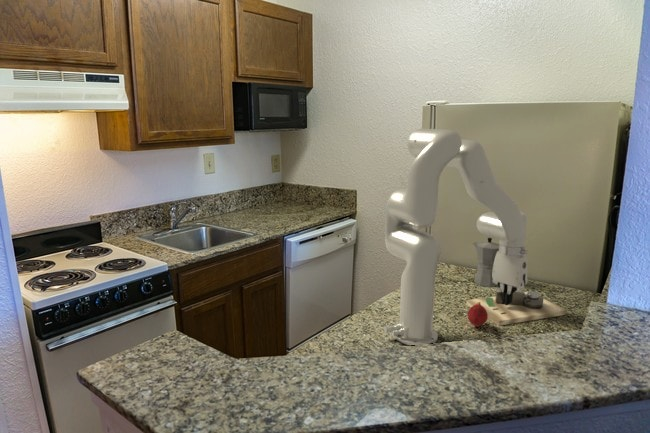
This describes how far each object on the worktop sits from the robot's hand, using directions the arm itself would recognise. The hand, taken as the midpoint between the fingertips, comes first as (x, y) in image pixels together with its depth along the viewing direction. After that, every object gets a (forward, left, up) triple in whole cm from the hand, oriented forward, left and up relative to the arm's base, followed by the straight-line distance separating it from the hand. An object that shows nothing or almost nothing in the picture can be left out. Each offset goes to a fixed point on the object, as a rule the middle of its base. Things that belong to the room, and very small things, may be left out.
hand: (506, 303), depth 152 cm
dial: (+6, +1, -1) cm, 6 cm away
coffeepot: (+11, +24, -3) cm, 26 cm away
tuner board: (+4, +1, -3) cm, 5 cm away
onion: (-16, -6, -3) cm, 17 cm away
